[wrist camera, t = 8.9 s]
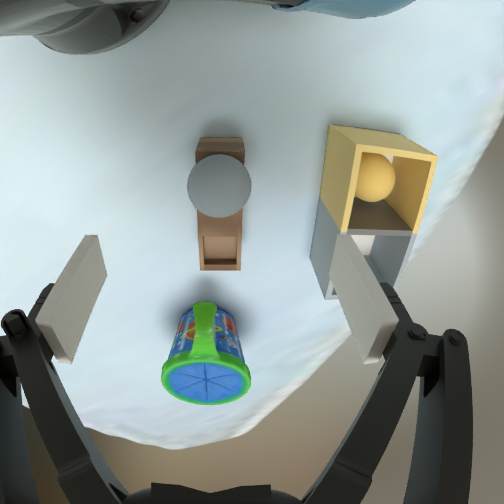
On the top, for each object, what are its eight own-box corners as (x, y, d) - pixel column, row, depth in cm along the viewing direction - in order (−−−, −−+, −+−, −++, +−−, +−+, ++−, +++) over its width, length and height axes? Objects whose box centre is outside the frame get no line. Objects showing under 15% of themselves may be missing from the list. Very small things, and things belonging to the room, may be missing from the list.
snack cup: (237, 360, 48) (240, 416, 39) (169, 353, 46) (163, 410, 38) (256, 284, 39) (264, 348, 31) (171, 275, 38) (158, 338, 29)
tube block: (329, 124, 29) (356, 143, 23) (399, 134, 29) (438, 156, 23) (309, 257, 38) (324, 299, 31) (371, 257, 38) (394, 296, 32)
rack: (200, 137, 29) (195, 151, 25) (242, 137, 29) (244, 151, 25) (203, 243, 36) (200, 270, 31) (238, 243, 36) (240, 270, 32)
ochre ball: (343, 142, 29) (360, 157, 25) (386, 148, 30) (408, 164, 26) (336, 188, 32) (351, 209, 28) (378, 191, 33) (397, 212, 28)
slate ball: (190, 147, 25) (182, 166, 21) (250, 147, 25) (255, 166, 21) (191, 201, 28) (185, 229, 24) (248, 201, 28) (251, 229, 24)
